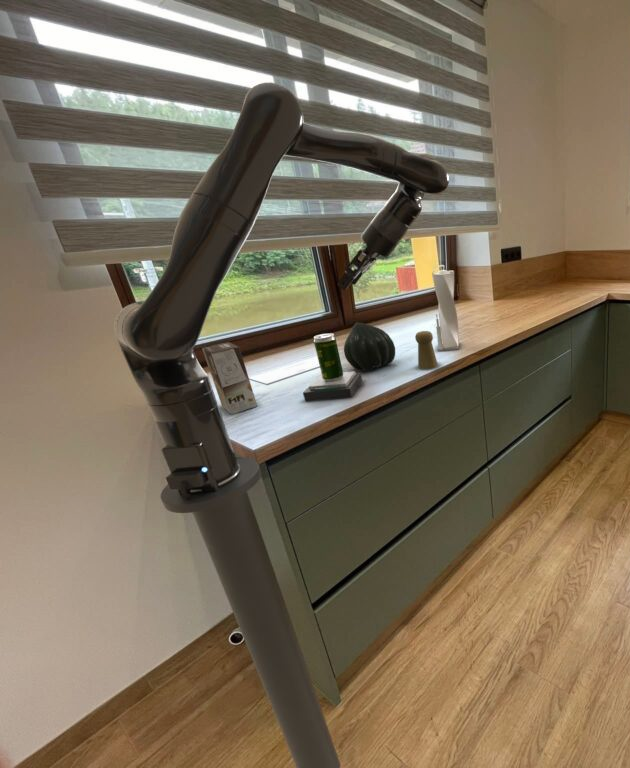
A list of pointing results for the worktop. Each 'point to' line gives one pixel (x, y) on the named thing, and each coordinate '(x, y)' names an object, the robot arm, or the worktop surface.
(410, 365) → the worktop surface
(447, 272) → the skyscraper
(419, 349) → the cork
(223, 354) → the coffee box
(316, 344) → the beer can
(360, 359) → the squash
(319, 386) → the scale
